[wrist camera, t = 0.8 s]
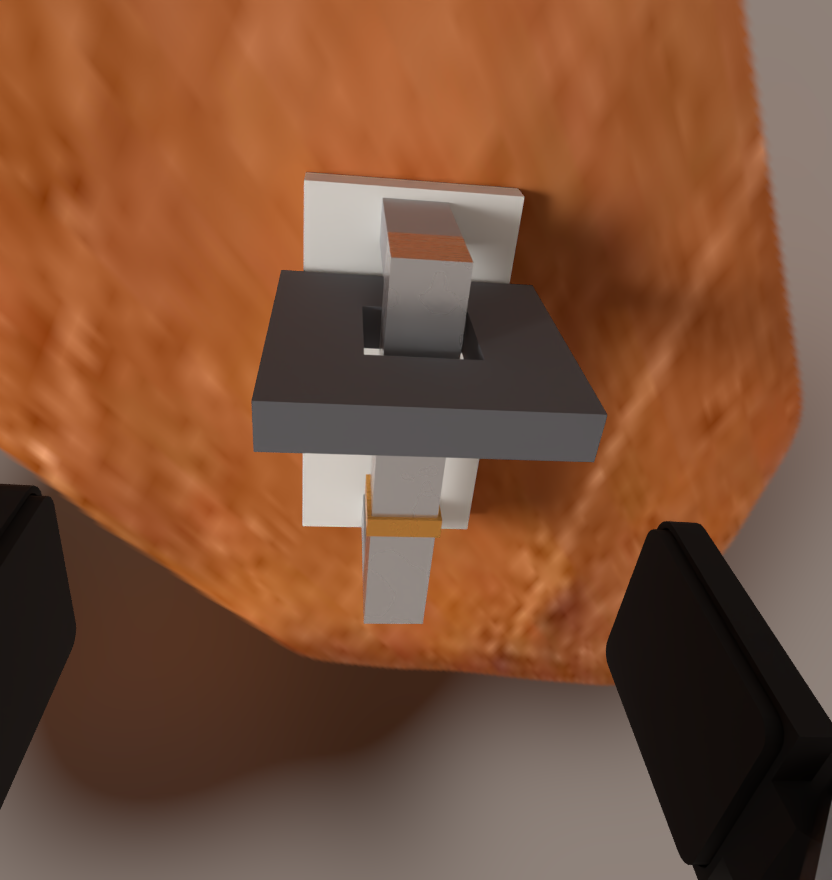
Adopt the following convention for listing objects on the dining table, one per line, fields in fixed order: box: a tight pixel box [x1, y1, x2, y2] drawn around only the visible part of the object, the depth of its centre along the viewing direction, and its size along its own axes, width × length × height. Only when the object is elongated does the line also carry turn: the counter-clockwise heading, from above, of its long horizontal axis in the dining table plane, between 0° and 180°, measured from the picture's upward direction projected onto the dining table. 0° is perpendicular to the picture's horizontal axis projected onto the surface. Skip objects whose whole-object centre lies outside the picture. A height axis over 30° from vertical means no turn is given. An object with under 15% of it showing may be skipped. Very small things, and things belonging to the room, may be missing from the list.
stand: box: [303, 172, 524, 572], centre depth 36 cm, size 20×10×6 cm, turn 175°
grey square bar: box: [363, 232, 473, 624], centre depth 32 cm, size 19×3×3 cm, turn 175°
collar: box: [252, 270, 607, 462], centre depth 29 cm, size 2×12×12 cm, turn 85°
